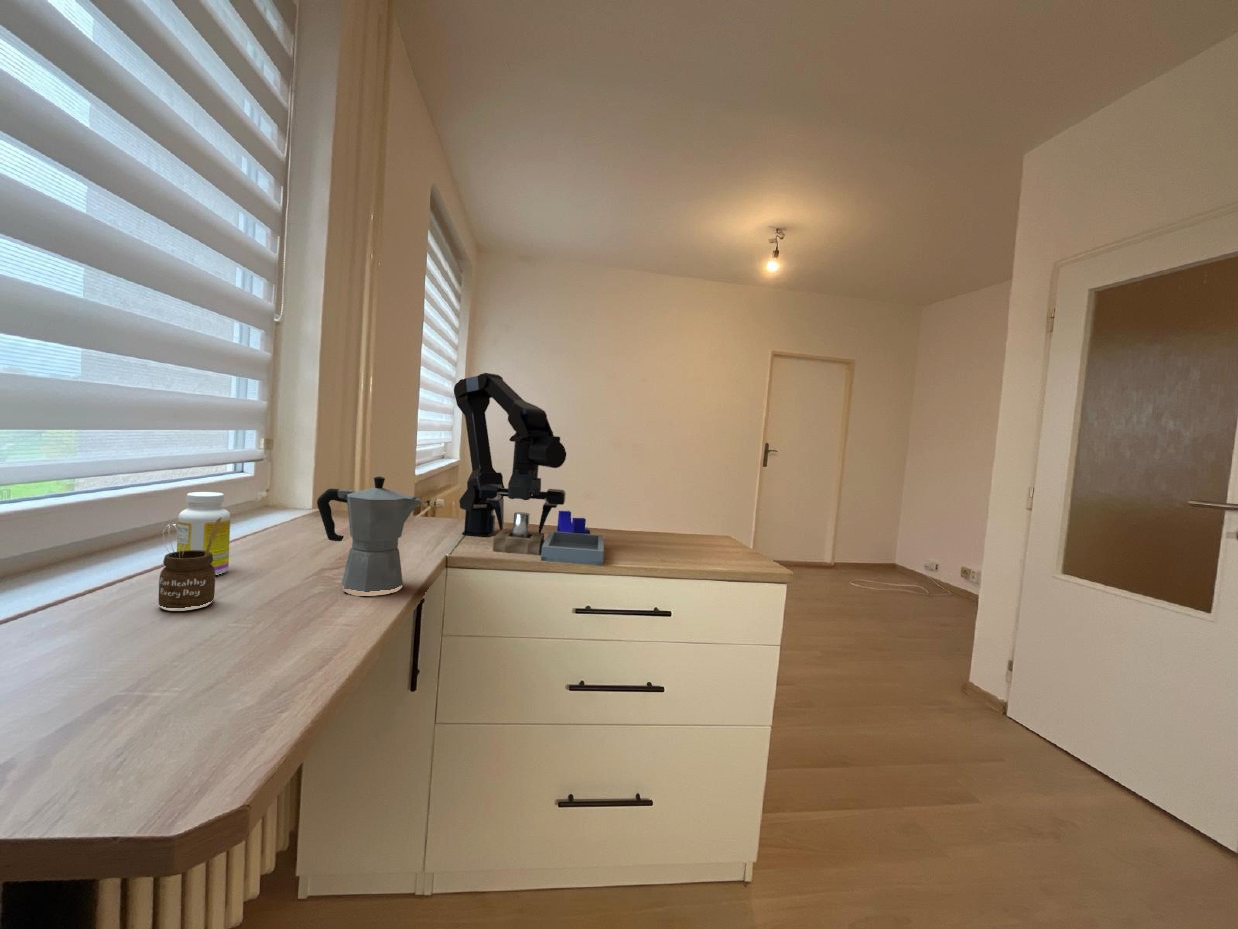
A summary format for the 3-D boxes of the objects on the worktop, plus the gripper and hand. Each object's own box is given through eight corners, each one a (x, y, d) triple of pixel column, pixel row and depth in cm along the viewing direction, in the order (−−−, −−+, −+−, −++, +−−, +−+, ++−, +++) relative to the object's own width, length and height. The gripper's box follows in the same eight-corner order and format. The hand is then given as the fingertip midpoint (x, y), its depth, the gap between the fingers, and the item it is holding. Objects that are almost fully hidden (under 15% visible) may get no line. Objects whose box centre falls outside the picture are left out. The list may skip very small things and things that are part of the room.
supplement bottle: (234, 568, 92) (238, 492, 91) (219, 579, 85) (223, 497, 85) (186, 568, 90) (190, 490, 89) (167, 579, 83) (170, 495, 82)
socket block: (492, 551, 120) (493, 537, 120) (501, 541, 130) (502, 529, 130) (538, 554, 120) (539, 541, 120) (543, 545, 130) (544, 532, 130)
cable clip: (589, 542, 140) (591, 519, 139) (572, 542, 138) (574, 518, 137) (572, 532, 150) (574, 511, 150) (556, 532, 148) (558, 510, 148)
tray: (540, 560, 115) (541, 546, 115) (548, 543, 133) (549, 530, 133) (602, 565, 116) (603, 551, 116) (602, 547, 134) (603, 535, 134)
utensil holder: (168, 599, 75) (172, 512, 75) (222, 598, 78) (226, 514, 77) (149, 613, 70) (152, 520, 69) (208, 612, 72) (212, 522, 71)
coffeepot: (420, 581, 93) (427, 476, 92) (410, 599, 84) (418, 482, 83) (322, 578, 91) (329, 469, 89) (300, 596, 81) (307, 475, 80)
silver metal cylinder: (510, 549, 123) (513, 514, 123) (512, 546, 127) (515, 511, 126) (525, 550, 123) (528, 515, 123) (527, 547, 127) (530, 513, 126)
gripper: (476, 461, 116) (470, 535, 116) (564, 469, 116) (558, 542, 117) (487, 459, 127) (482, 525, 128) (568, 466, 127) (562, 532, 128)
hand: (520, 531), depth 125 cm, fingers open, 8 cm apart
